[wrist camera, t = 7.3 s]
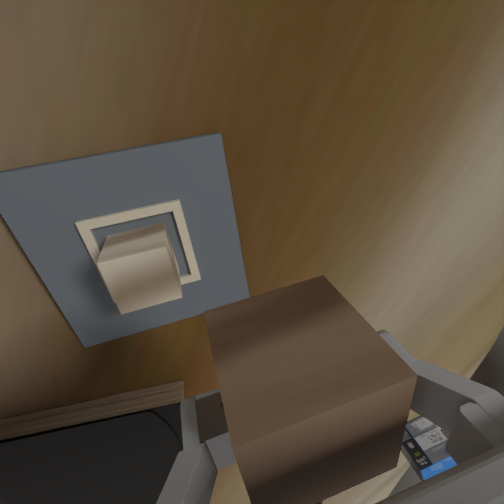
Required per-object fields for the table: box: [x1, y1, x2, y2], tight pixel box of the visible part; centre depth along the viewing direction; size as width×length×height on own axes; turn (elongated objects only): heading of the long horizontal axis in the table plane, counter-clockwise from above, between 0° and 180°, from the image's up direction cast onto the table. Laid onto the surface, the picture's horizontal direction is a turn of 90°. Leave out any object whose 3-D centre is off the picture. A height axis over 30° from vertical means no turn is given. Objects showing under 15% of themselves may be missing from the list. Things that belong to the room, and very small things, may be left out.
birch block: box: [97, 222, 183, 315], centre depth 24 cm, size 5×5×5 cm
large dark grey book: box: [0, 381, 184, 504], centre depth 41 cm, size 33×4×24 cm
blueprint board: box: [0, 132, 249, 348], centre depth 27 cm, size 18×18×1 cm
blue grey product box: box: [400, 416, 457, 481], centre depth 59 cm, size 9×4×12 cm, turn 105°
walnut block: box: [203, 275, 418, 504], centre depth 10 cm, size 5×5×5 cm
